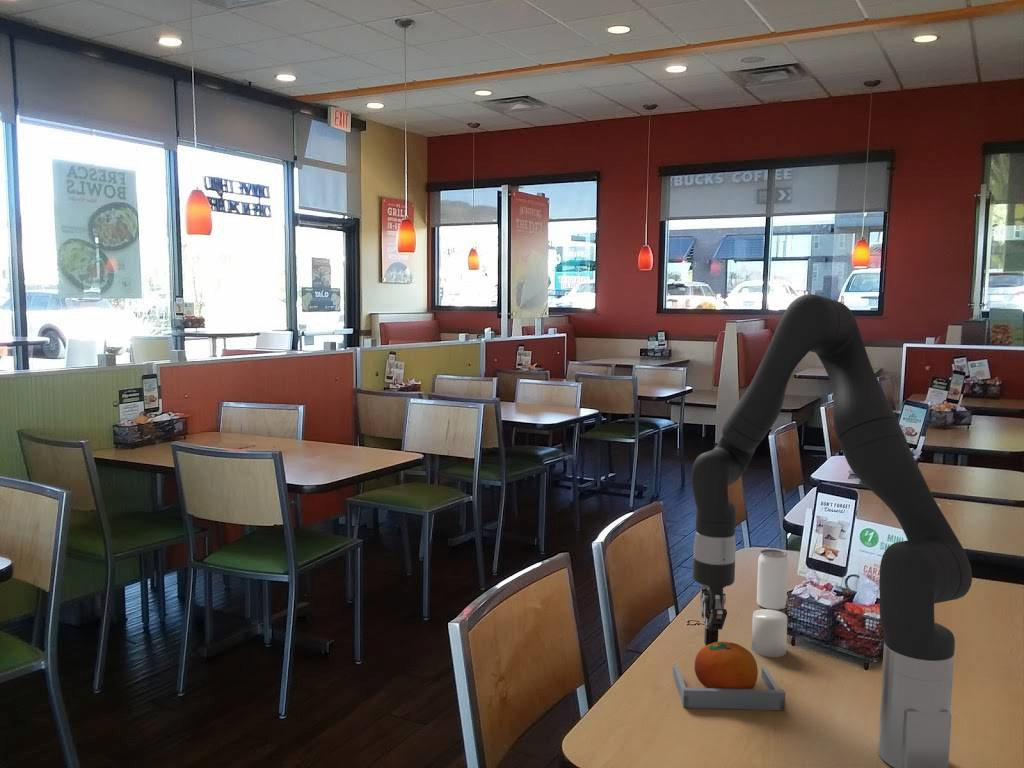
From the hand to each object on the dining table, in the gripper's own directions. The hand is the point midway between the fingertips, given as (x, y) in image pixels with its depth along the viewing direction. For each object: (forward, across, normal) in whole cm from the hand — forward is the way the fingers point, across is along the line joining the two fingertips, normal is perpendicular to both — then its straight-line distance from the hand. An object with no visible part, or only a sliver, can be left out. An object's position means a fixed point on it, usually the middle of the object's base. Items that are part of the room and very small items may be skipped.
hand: (710, 646), depth 154 cm
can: (+4, +30, -20) cm, 37 cm away
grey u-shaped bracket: (+3, -11, 0) cm, 12 cm away
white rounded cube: (+3, +6, -13) cm, 15 cm away
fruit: (+4, -11, 0) cm, 11 cm away
